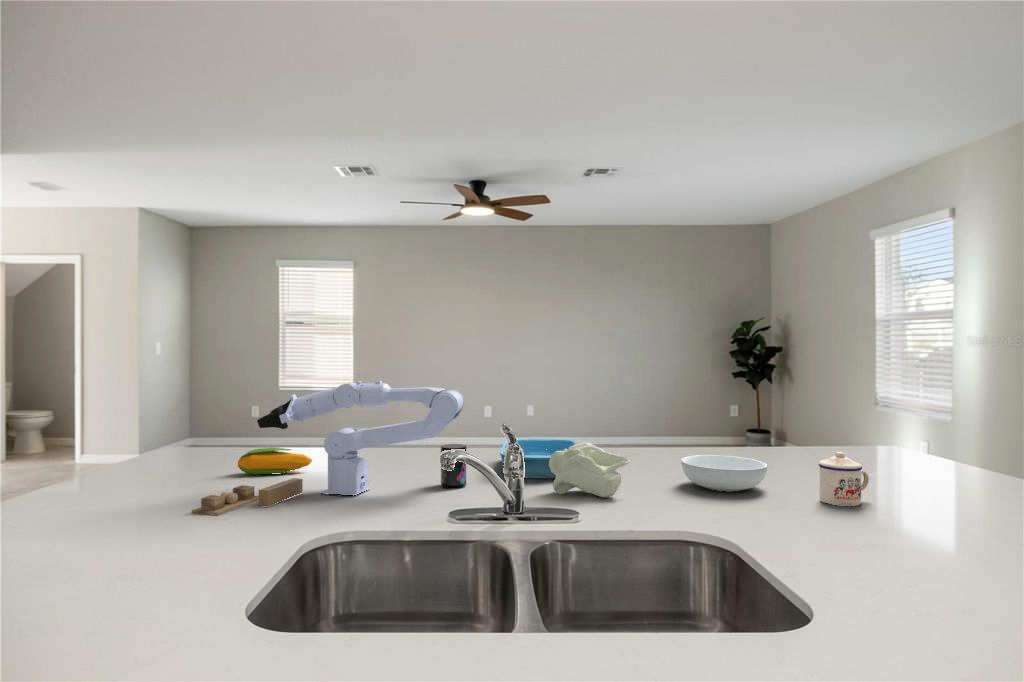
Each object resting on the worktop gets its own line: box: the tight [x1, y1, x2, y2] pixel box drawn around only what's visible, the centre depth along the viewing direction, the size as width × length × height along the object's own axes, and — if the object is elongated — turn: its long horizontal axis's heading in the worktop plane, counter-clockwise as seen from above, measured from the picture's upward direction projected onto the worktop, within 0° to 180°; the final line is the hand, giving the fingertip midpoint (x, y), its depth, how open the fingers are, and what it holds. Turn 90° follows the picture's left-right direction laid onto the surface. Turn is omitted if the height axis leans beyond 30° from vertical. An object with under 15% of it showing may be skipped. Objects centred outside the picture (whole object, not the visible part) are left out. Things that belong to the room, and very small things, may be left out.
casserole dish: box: [499, 437, 578, 479], centre depth 190 cm, size 37×22×7 cm, turn 176°
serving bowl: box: [680, 454, 768, 493], centre depth 166 cm, size 21×21×7 cm
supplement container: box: [440, 443, 468, 490], centre depth 168 cm, size 7×7×10 cm
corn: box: [237, 447, 313, 475], centre depth 184 cm, size 7×8×20 cm
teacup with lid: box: [818, 451, 870, 508], centre depth 152 cm, size 12×9×12 cm
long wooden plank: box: [258, 477, 304, 507], centre depth 154 cm, size 3×13×4 cm, turn 163°
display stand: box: [191, 485, 259, 516], centre depth 148 cm, size 7×15×3 cm, turn 163°
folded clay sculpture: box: [549, 441, 631, 499], centre depth 160 cm, size 18×13×16 cm
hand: (265, 419), depth 163 cm, fingers open, 7 cm apart
